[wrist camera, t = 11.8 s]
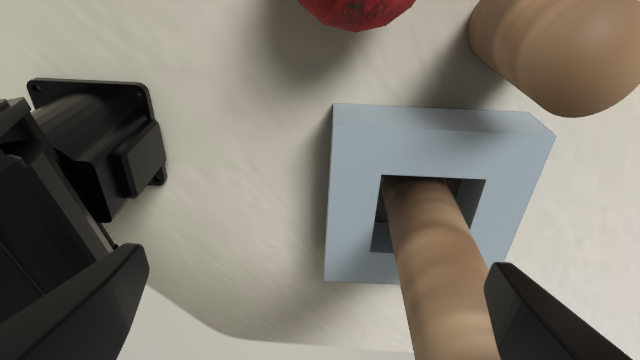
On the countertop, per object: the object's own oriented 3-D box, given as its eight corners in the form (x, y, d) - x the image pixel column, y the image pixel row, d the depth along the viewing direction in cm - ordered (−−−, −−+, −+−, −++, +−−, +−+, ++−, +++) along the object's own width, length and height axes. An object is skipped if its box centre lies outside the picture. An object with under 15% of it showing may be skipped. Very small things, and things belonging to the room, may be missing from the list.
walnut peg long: (378, 211, 25) (415, 423, 14) (386, 159, 23) (437, 360, 12) (437, 214, 25) (522, 428, 14) (451, 162, 23) (563, 366, 12)
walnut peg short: (459, 63, 20) (514, 115, 14) (480, -23, 17) (555, -7, 11) (535, 66, 20) (623, 120, 14) (565, -19, 17) (685, -1, 11)
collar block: (324, 249, 27) (323, 280, 24) (333, 103, 21) (333, 125, 18) (477, 256, 27) (492, 289, 24) (529, 112, 21) (556, 135, 18)
